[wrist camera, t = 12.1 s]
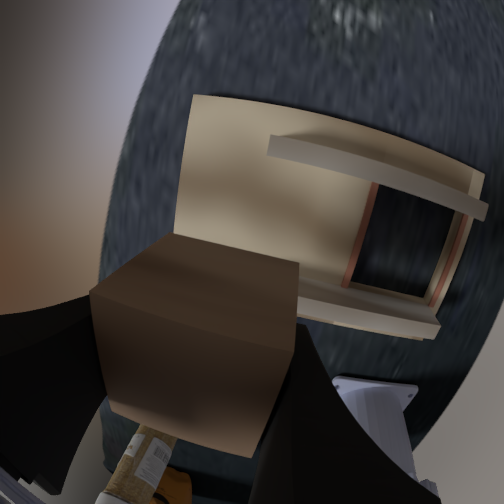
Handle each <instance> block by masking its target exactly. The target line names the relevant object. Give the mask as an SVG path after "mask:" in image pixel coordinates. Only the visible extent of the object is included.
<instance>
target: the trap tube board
mask: <svg viewBox="0 0 504 504" xmlns="http://www.w3.org/2000/svg"><path fill="white" fill-rule="evenodd" d="M484 177H485V174H483V173H481V172H479V171H477V170H475V169H473V168H471V167H469V166H467V165H465V164H463V163H461V162H459V161H456V160H454V159H452V158H450V157H447V156H445V155H443V154H440V153H438V152H436V151H433V150H431V149H428V148H426V147H423V146H421V145H418V144H416V143H413V142H410V141H408V140H405V139H402V138H399V137H396V136H394V135H391V134H388V133H385V132H382V131H378V130H375V129H372V128H369V127H366V126H362V125H359V124H355V123H352V122H348V121H345V120H341V119H337V118H333V117H329V116H325V115H321V114H317V113H313V112H308V111H304V110H299V109H294V108H289V107H284V106H279V105H273V104H267V103H261V102H255V101H248V100H241V99H233V98H225V97H216V96H205V95H193V100H192V106H191V111H190V116H189V122H188V128H187V134H186V140H185V146H184V153H183V159H182V166H181V173H180V181H179V189H178V197H177V205H176V214H175V224H174V233H175V234H179V235H183V236H188V237H192V238H196V239H200V240H205V241H209V242H213V243H217V244H222V245H226V246H230V247H235V248H239V249H243V250H247V251H252V252H256V253H260V254H264V255H269V256H273V257H277V258H281V259H286V260H290V261H294V262H298V263H300V264H299V285H298V304H297V316H298V317H303V318H307V319H312V320H317V321H321V322H326V323H331V324H335V325H340V326H345V327H350V328H355V329H360V330H366V331H371V332H376V333H382V334H387V335H393V336H399V337H404V338H410V339H417V340H423V338H428V339H434V338H435V336H436V335H437V333H438V331H439V329H440V327H441V325H440V323H439V322H438V320H437V319H436V317H435V315H436V313H437V311H438V309H439V307H440V305H441V303H442V300H443V298H444V296H445V294H446V292H447V289H448V287H449V285H450V282H451V280H452V278H453V275H454V273H455V270H456V268H457V265H458V263H459V260H460V257H461V255H462V252H463V249H464V246H465V244H466V241H467V238H468V235H469V232H470V229H471V225H472V222H473V219H474V218H476V219H478V220H480V221H483V222H484V220H485V217H486V213H487V210H488V206H489V204H487V203H485V202H483V201H481V200H479V198H480V194H481V190H482V185H483V181H484ZM379 184H381V185H385V186H388V187H391V188H394V189H397V190H400V191H403V192H406V193H409V194H412V195H415V196H418V197H421V198H424V199H427V200H430V201H432V202H435V203H438V204H440V205H443V206H446V207H448V208H451V209H454V210H455V213H454V216H453V220H452V223H451V226H450V229H449V232H448V235H447V238H446V241H445V244H444V247H443V250H442V252H441V255H440V258H439V261H438V263H437V266H436V268H435V271H434V273H433V276H432V278H431V281H430V283H429V286H428V288H427V290H426V293H425V295H424V297H423V298H421V297H416V296H412V295H408V294H403V293H399V292H394V291H390V290H386V289H382V288H377V287H373V286H369V285H364V284H360V283H356V282H351V281H350V280H351V277H352V274H353V271H354V268H355V265H356V262H357V259H358V256H359V253H360V250H361V247H362V243H363V240H364V237H365V234H366V230H367V227H368V224H369V220H370V217H371V213H372V209H373V206H374V202H375V198H376V195H377V191H378V187H379Z"/></svg>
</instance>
